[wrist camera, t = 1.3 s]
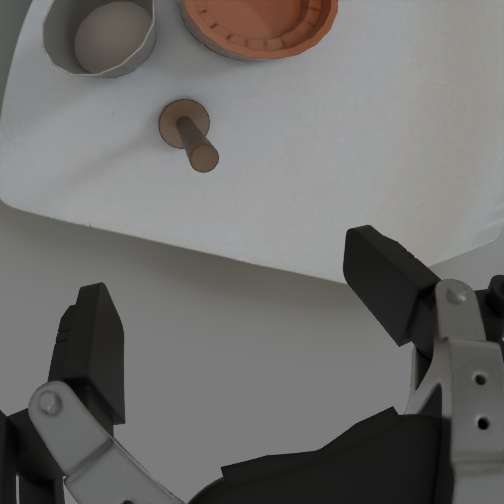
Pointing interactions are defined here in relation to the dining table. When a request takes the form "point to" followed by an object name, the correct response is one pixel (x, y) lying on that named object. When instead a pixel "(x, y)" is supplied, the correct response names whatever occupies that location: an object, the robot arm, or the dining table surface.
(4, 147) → the dining table surface
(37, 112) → the dining table surface
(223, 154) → the dining table surface
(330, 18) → the bowl
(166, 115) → the upright rod on disc
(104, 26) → the cup
